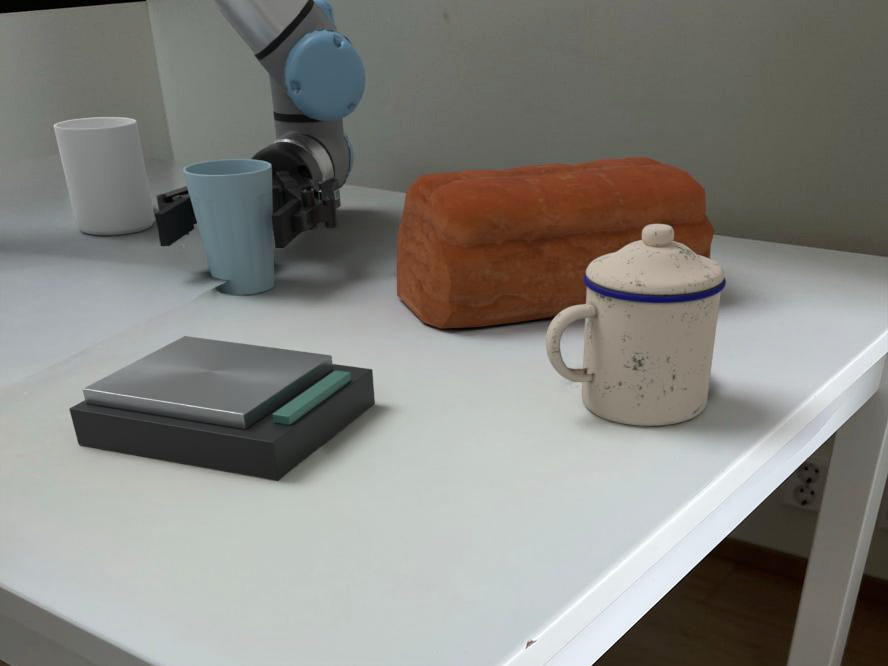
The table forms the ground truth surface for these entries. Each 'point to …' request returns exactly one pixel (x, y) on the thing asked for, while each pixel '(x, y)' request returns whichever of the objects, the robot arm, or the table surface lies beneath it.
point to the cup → (235, 221)
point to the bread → (532, 235)
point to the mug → (105, 174)
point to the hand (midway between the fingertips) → (219, 231)
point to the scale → (223, 406)
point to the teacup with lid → (645, 331)
